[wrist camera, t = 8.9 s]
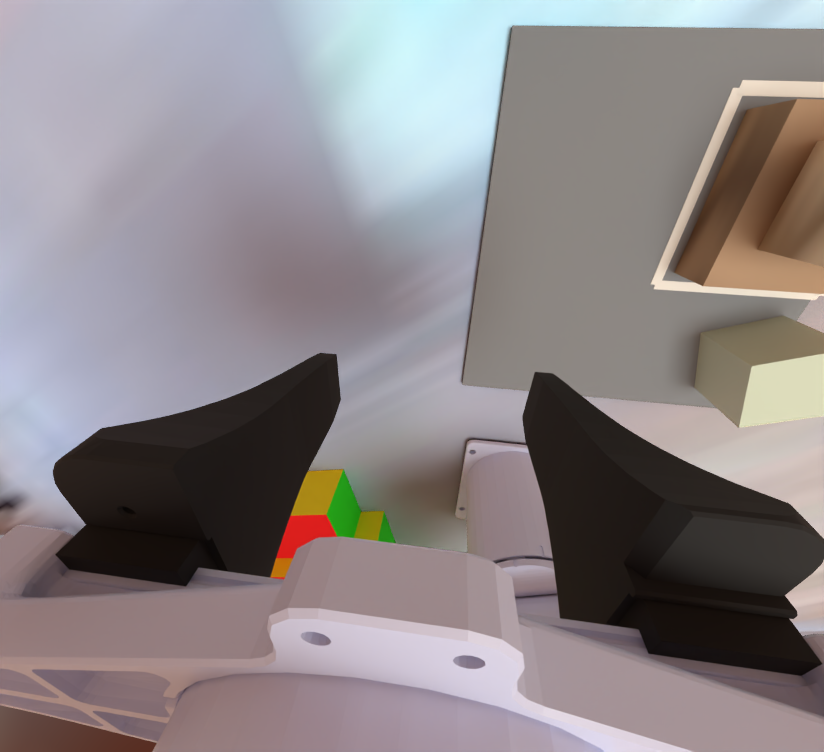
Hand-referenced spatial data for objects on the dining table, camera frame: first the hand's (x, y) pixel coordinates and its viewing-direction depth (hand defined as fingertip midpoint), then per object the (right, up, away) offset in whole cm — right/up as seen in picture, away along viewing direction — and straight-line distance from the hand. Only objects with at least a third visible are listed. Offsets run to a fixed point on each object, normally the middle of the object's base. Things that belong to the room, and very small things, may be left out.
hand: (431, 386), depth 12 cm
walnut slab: (+17, +9, +4) cm, 20 cm away
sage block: (+19, +2, +8) cm, 20 cm away
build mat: (+12, +7, +6) cm, 15 cm away
